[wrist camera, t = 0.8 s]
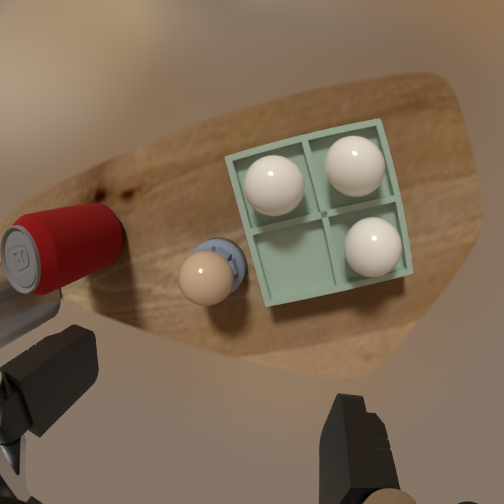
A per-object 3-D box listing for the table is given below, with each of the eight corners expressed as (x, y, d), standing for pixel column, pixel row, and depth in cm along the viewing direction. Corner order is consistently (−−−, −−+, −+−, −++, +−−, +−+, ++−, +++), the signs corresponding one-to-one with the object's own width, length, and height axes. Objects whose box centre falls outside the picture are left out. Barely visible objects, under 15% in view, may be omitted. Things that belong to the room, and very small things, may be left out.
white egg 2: (331, 201, 24) (336, 205, 19) (316, 146, 23) (318, 138, 19) (383, 189, 23) (398, 190, 18) (369, 135, 22) (381, 125, 18)
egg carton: (269, 294, 28) (265, 307, 25) (233, 159, 26) (224, 156, 23) (403, 264, 25) (413, 273, 23) (372, 124, 23) (380, 118, 21)
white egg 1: (257, 219, 25) (247, 226, 21) (243, 166, 24) (229, 162, 20) (311, 205, 24) (311, 210, 20) (296, 151, 23) (294, 144, 19)
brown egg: (198, 298, 27) (179, 318, 23) (183, 251, 27) (161, 264, 22) (244, 289, 26) (232, 309, 22) (230, 239, 26) (215, 251, 21)
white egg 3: (346, 273, 25) (354, 291, 20) (335, 221, 24) (341, 229, 20) (397, 261, 24) (413, 277, 19) (387, 209, 23) (403, 214, 19)
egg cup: (203, 294, 29) (194, 304, 27) (188, 244, 29) (176, 250, 26) (253, 284, 28) (247, 294, 26) (238, 231, 28) (231, 236, 25)
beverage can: (72, 213, 30) (-11, 231, 19) (116, 193, 29) (27, 204, 17) (90, 270, 31) (12, 307, 20) (135, 256, 30) (54, 295, 18)
